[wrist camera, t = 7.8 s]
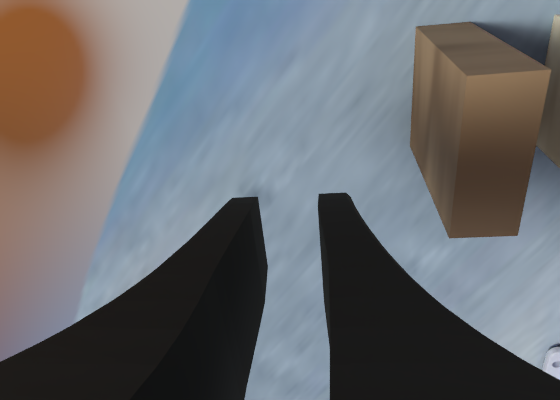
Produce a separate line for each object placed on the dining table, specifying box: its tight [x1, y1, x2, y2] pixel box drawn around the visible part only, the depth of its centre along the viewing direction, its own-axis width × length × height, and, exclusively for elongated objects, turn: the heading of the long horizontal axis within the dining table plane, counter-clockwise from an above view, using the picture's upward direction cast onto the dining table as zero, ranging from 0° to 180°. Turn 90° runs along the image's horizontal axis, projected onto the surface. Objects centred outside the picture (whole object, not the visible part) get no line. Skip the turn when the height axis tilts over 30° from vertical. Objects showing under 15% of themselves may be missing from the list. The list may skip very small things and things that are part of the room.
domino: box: [410, 22, 551, 238], centre depth 15 cm, size 5×2×7 cm, turn 6°
